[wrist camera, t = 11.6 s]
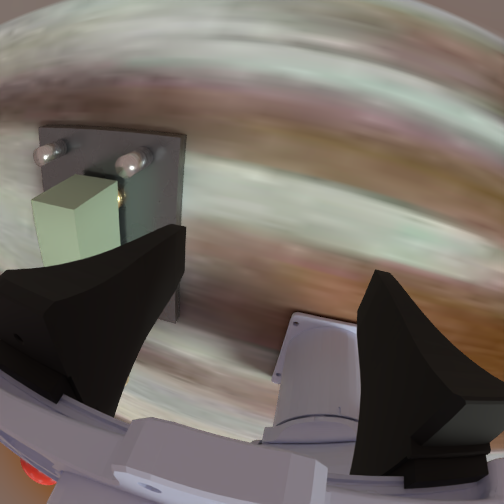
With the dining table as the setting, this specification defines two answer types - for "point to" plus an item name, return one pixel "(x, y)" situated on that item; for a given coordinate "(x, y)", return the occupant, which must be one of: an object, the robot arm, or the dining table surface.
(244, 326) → the dining table surface
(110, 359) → the robot arm
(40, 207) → the block
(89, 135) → the plate
